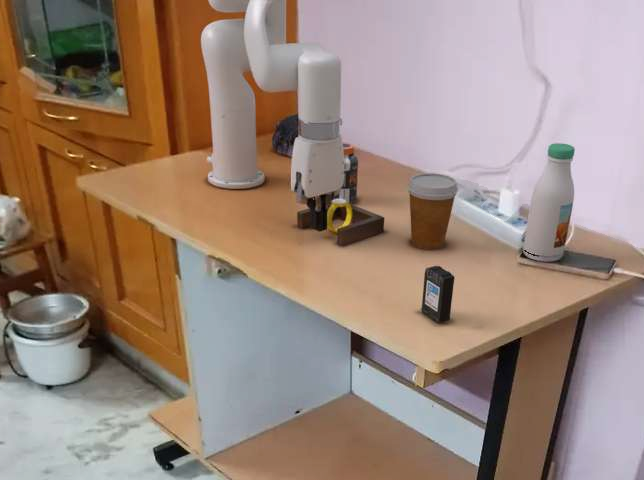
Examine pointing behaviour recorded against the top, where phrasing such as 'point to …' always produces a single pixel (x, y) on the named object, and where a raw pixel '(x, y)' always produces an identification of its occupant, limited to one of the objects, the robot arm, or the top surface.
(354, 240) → the bay
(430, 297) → the ink cartridge
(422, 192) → the disposable coffee cup
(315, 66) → the robot arm
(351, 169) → the pill bottle
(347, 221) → the watch
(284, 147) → the crystal cluster
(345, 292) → the top surface
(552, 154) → the milk bottle
